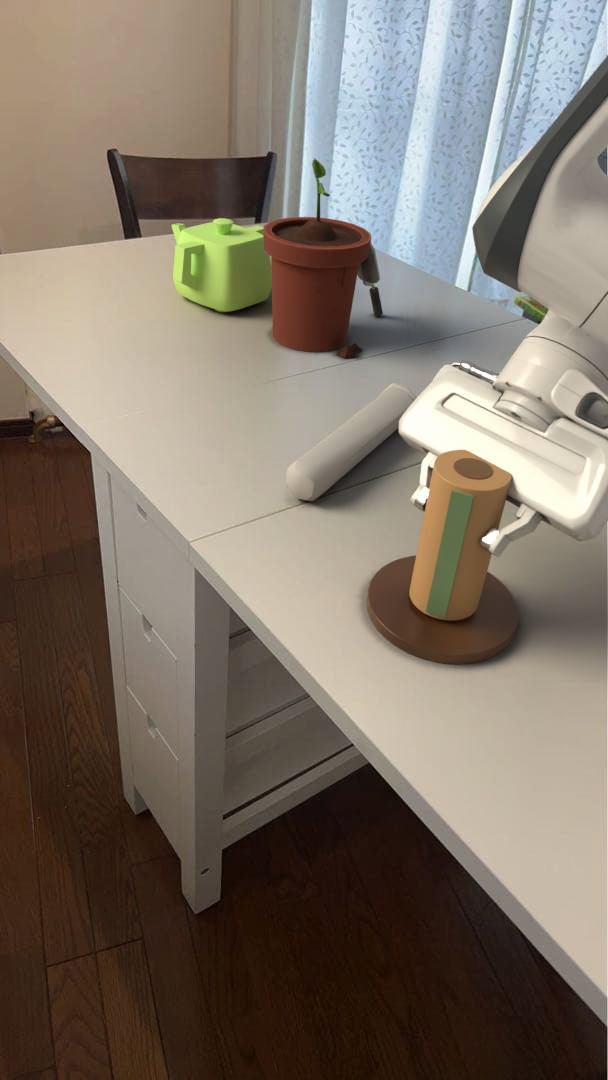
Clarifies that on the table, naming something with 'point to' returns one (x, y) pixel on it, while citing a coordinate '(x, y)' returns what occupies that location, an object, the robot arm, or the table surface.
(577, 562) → the table surface
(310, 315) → the potted plant
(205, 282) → the teapot
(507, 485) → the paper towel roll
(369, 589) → the disc
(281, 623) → the table surface
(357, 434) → the tube
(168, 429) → the table surface
